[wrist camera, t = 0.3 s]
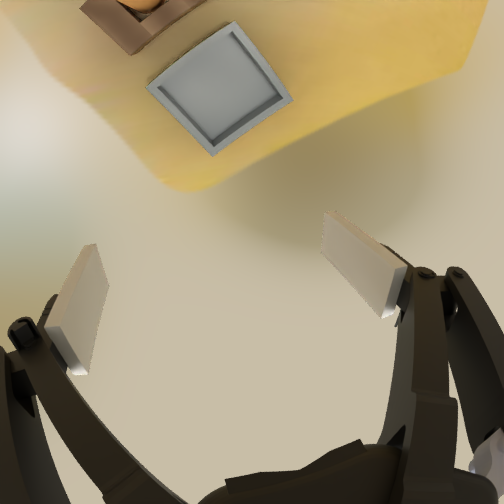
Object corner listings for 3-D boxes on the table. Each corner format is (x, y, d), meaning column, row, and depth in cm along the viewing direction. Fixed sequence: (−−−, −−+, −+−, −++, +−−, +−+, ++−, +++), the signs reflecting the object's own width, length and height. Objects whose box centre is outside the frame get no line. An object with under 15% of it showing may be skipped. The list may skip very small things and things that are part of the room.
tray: (230, 22, 26) (234, 20, 23) (285, 94, 34) (293, 100, 32) (149, 83, 30) (145, 87, 27) (210, 147, 38) (212, 156, 36)
